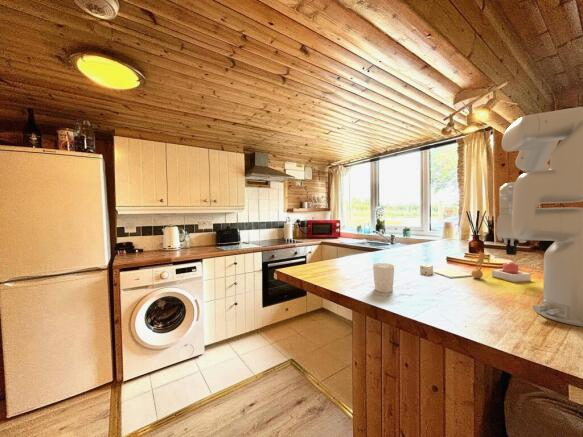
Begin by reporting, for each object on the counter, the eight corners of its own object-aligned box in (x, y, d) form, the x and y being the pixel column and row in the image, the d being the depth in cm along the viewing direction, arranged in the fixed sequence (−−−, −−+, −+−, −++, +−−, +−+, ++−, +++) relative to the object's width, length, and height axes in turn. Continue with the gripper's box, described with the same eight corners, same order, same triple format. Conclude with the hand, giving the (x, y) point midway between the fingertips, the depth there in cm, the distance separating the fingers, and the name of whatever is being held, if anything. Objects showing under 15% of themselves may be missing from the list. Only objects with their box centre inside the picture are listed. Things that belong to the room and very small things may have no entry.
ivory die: (427, 275, 113) (427, 266, 113) (419, 273, 117) (419, 264, 116) (432, 273, 115) (432, 265, 115) (424, 272, 119) (424, 263, 119)
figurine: (465, 276, 110) (465, 250, 109) (476, 275, 110) (476, 249, 110) (481, 281, 101) (481, 253, 101) (493, 280, 102) (493, 253, 102)
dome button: (512, 275, 101) (512, 263, 101) (499, 272, 106) (499, 261, 106) (521, 274, 102) (521, 263, 102) (509, 271, 107) (509, 260, 107)
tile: (450, 278, 107) (450, 276, 107) (430, 271, 119) (430, 270, 119) (472, 276, 109) (472, 274, 109) (451, 269, 121) (451, 268, 121)
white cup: (373, 292, 92) (373, 267, 92) (373, 286, 99) (372, 262, 99) (395, 294, 90) (395, 268, 89) (393, 287, 97) (392, 263, 97)
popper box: (513, 282, 99) (513, 275, 99) (491, 276, 108) (491, 270, 108) (530, 280, 100) (530, 273, 100) (507, 275, 109) (507, 268, 109)
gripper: (538, 212, 96) (538, 257, 96) (500, 213, 111) (500, 251, 111) (523, 212, 95) (524, 257, 95) (486, 213, 110) (487, 252, 110)
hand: (511, 254), depth 103 cm, fingers closed
